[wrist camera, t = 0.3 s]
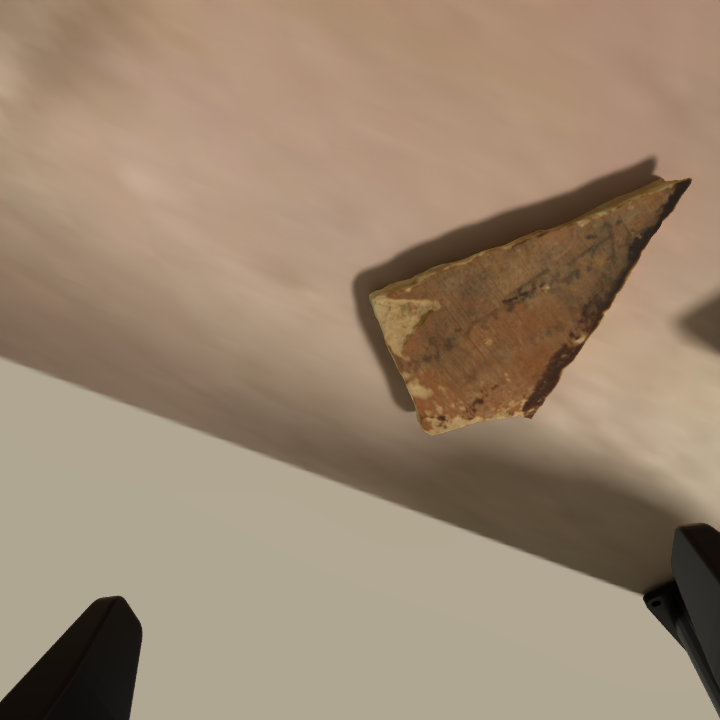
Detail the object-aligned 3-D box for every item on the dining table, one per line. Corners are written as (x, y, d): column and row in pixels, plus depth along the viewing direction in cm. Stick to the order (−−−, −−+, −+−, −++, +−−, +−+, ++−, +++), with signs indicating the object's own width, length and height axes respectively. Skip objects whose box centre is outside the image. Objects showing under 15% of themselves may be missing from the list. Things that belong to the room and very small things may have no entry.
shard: (670, 165, 19) (698, 180, 17) (689, 348, 23) (712, 374, 21) (363, 277, 21) (363, 299, 20) (427, 428, 25) (432, 456, 23)
